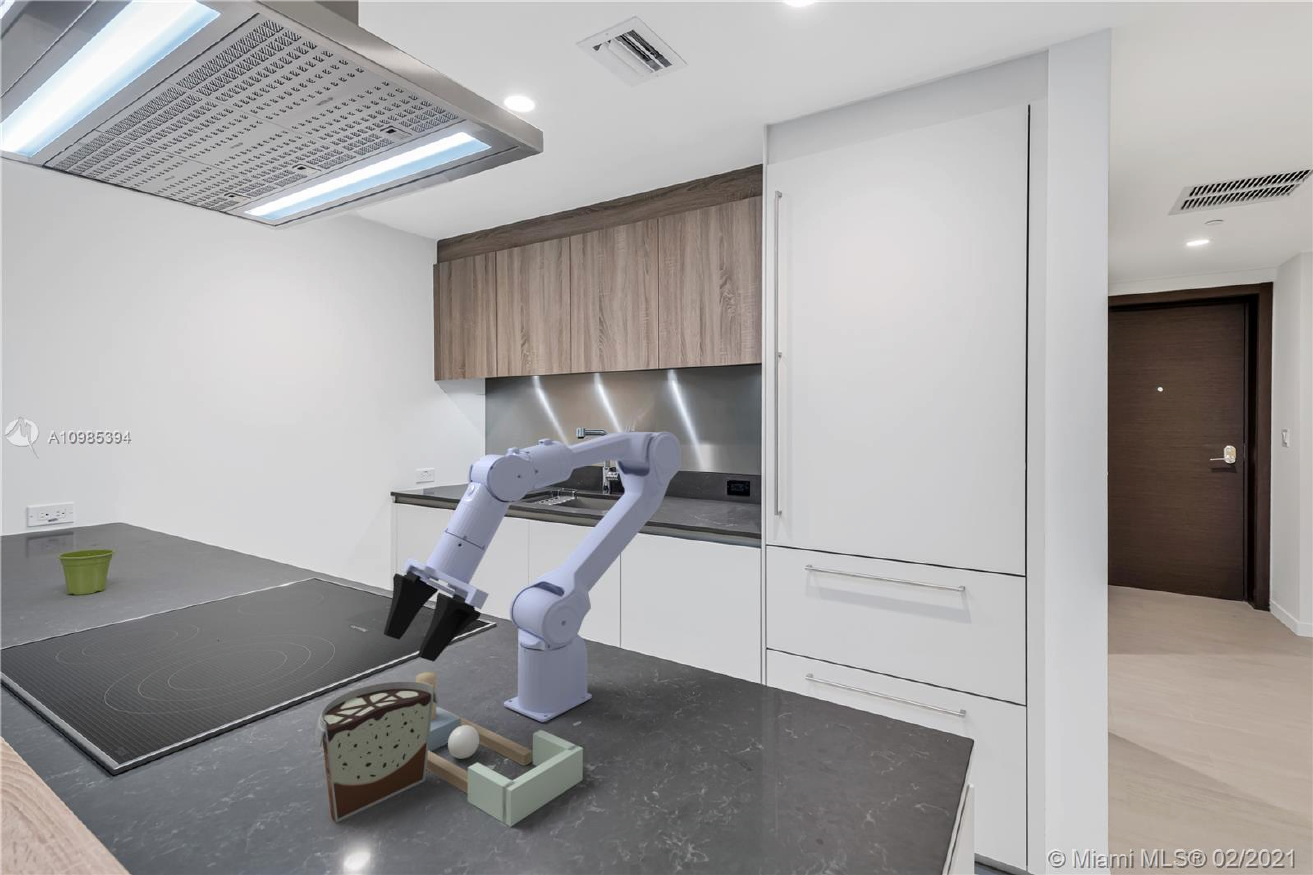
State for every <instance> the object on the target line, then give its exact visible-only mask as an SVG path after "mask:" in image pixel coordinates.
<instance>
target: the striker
mask: <svg viewBox="0 0 1313 875" xmlns="http://www.w3.org/2000/svg"><path fill="white" fill-rule="evenodd" d="M437 675H438V674H437V673H436V672H432V671H431V672H429V671H427V672H423V673H419V674H417V675H416V676H415V682H422V683H426V684H430V685H432V686H434V691H436V694H437V692H438V691H437V686H438V685H437V682H438V681H437V680H438V679H437V678H438V676H437ZM438 707H439V706H437V704H436V703H434V702H433V706H432V716H431V726H430V737H429V747H428V750H429V751H430V752H433V751H435V750H436V749H437V750H438V749H439V748H441V747H443V746H446V745H448V744H447V743H448V739H449V736H450V734H451V733H452V732H453V731H454V730H455V729H456V728H457V727H459V726H461V718H460V717H461V716H459V717H457V716H458V715H457V716H455V715H456V714H455V715H453V714H454V713H453V714H451V713H452V712H451V713H449V712H450V711H449V712H447V711H448V710H447V711H445V710H446V709H445V710H443V709H444V708H443V709H441V708H442V707H440V708H438ZM440 746H441V747H440ZM438 747H439V748H438ZM434 749H435V750H434ZM432 750H433V751H432Z"/></svg>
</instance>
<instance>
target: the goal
mask: <svg viewBox="0 0 1313 875" xmlns="http://www.w3.org/2000/svg"><path fill="white" fill-rule="evenodd" d="M583 755H584V748H583V747H581V746H579V745H577V744H575V743H572V742H570V741H567V740H565V739H563V738H561V737H558V736H556V735H554V734H551V733H550V732H548V731H545V730H542V729H539V730H538V731H535V732H534V733H532V765H533V766H535V767H534V768H532V769H530V770H528V771H527V772H525V773H523V774H521V775H520V776H518V777H516V778H515V779H513V780H512V779H511V778H510V779H509V778H508V777H506V776H504V775H503V774H500V773H498V772H497V771H494V770H493V769H491V768H489V767H487V766H485V765H483V764H481V763H480V762H476V763H473V764H472V765H469V766H468V767H467V772H468V794H467V802H468V803H469V804H471V805H473V806H475V807H476V808H478V809H480V810H482V811H483V812H484V813H486V814H488V815H489V816H491V817H493V818H495V819H496V820H498V821H499V822H501V823H503V824H505V825H506V826H508V827H510V828H511V827H513V826H514V825H516V824H518V823H519V822H520V821H522V820H523V819H525V818H526V817H528V816H529V815H532V814H533V813H534V812H535V811H537V810H539V809H540V808H541V807H544V806H545V805H547V804H548V803H550V802H551V801H553V800H554V799H556V798H557V797H559V796H560V795H562V794H563V793H565V792H566V791H568V790H570V789H571V788H573V787H574V786H576V785H577V784H579V783H580V782H581V781H583V770H584V769H583V768H584V765H583V763H584V760H583V758H584V756H583Z"/></svg>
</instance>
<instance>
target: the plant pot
mask: <svg viewBox="0 0 1313 875" xmlns="http://www.w3.org/2000/svg"><path fill="white" fill-rule="evenodd" d="M115 552H116V551H115V549H108V548H107V549H106V548H99V549H97V548H96V549H83V550H82V549H81V550H74V551H68V552H63V553H60V554H58V555H57V558H58V559H59V560H60V564H61V565H62V568H63V573H64V579H65V585H66V592H67V595H75V596H76V595H77V596H79V595H80V596H82V595H91V594H94V593H96V592H102V591H104V590H105V589H106V584H107V578H108V572H109V569H110V568H109V567H110V563H111V560H112V558H113V554H115Z"/></svg>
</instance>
